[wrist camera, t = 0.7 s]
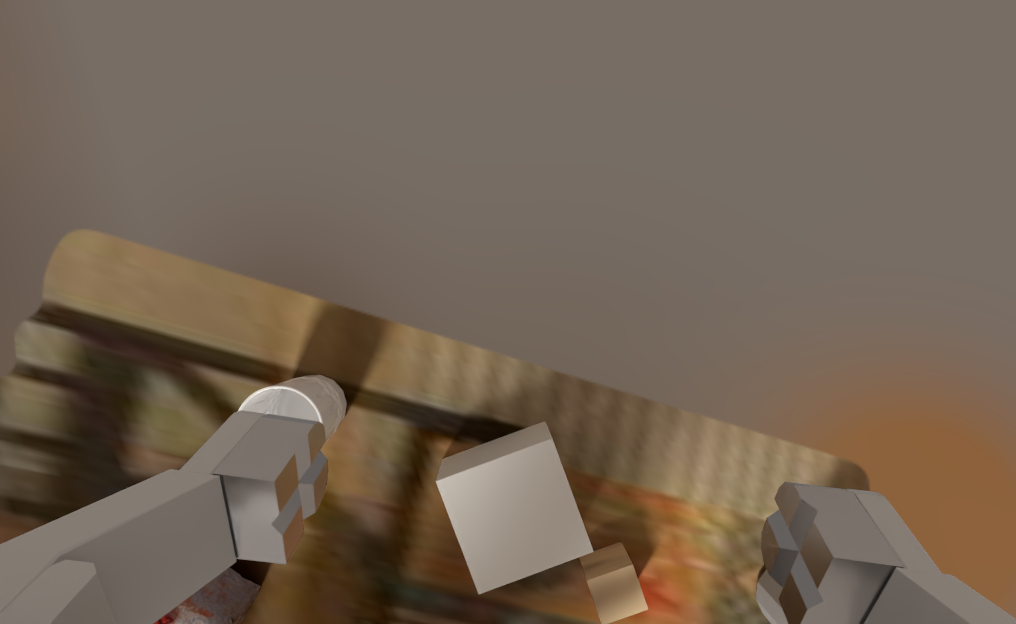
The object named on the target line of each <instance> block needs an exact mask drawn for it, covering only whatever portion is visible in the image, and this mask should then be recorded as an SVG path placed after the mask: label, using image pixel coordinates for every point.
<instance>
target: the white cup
mask: <svg viewBox="0 0 1016 624" xmlns="http://www.w3.org/2000/svg"><path fill="white" fill-rule="evenodd" d="M346 406H347V402H346V399H345V396H344V392H343V390H342V389H341V388H340V387H339V386H338V384H337V383H336V382H335V381H334V380H332V379H330V378H327V377H325V376H322V375H306V376H303V377H298V378H294V379H291V380H287V381H283V382H280V383H277V384H274V385H271V386H268V387H265V388H262V389H260V390H258V391H256V392H254V393H253V394H251V395H250V396H249V397H248V398H247V399H246V400H245V401H244V402H243V403H242V405H241V406H240V408H239V410H238V411H241V410H243V411H250V412H257V413H263V414H273V415H279V416H286V417H292V418H299V419H306V420H312V421H319V422H321V423H322V424H323V425H324V428H325V435H326V441H325V443H326V442H327V441H328V440H329V439H330V438H331V436H332V435H333V434H334V432H335V431H336V429H337V427H338V426H339V425H340V423H341V422H342V420H343V419H344V418H345V412H346ZM325 443H324V444H323V446H324V445H325ZM323 446H322V447H323Z"/></svg>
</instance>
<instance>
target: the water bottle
mask: <svg viewBox="0 0 1016 624" xmlns="http://www.w3.org/2000/svg"><path fill="white" fill-rule="evenodd" d="M782 589H783V587H781V586H780V585H779V584H778V583H777V582H776V581H775V580H774V579H773V578H772V577H771V576H770V575H769V574H768V571H767V569H766V570H765V572H764V573H763V575H762V576H761V577H760V579H759V580H758V584H757V592H756V600H757V602H758V604H759V606H760V609H761V611H762V613H763V614H764V615H765V617H766V618H767V619H768V620H769V621H770V623H771V624H788V622H787V619H786V617H785V614H784V612H783V609H782V607H781V604H780V602H779V599H778V598H779V596H780V594H781V591H782Z"/></svg>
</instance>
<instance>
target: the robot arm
mask: <svg viewBox="0 0 1016 624" xmlns="http://www.w3.org/2000/svg"><path fill="white" fill-rule="evenodd" d="M325 441H326V435H325V428H324V425H323V424H322V423H321V422H319V421H312V420H306V419H299V418H292V417H286V416H279V415H273V414H263V413H257V412H250V411H243V410H241V411H238V412H235V413H233V414H232V415H231V416H230V417H229V418H228V419H227V420H226V421H225V423H224V424H223V425H222V426H221V427H220V428H219V429H218V430H217V431H216V432H215V433H214V434H213V435H212V436H211V437H210V438H209V439H208V440H207V441H206V442H205V444H204V445H203V446H202V447H201V448H200V449H199V450H198V451H197V452H196V453H195V454H194V455H193V456H192V457H191V458H190V459H189V460H188V461H187V462H186V464H185V465H184V466H183V467H182V468H181V469H180V470H173V469H170V470H167V471H165V472H163V473H161V474H158V475H156V476H154V477H152V478H149V479H147V480H145V481H143V482H140V483H138V484H136V485H133V486H131V487H129V488H127V489H124V490H122V491H120V492H118V493H115V494H113V495H111V496H109V497H106V498H104V499H102V500H100V501H97V502H95V503H93V504H91V505H88V506H86V507H84V508H82V509H79V510H77V511H75V512H72V513H70V514H68V515H66V516H63V517H61V518H59V519H57V520H54V521H52V522H50V523H48V524H45V525H43V526H41V527H39V528H36V529H34V530H32V531H30V532H27V533H25V534H23V535H21V536H18V537H16V538H14V539H11V540H9V541H7V542H5V543H2V544H0V624H154V623H155V622H156V621H158V620H159V619H160V618H162V617H163V616H164V615H166V614H167V613H168V612H170V611H171V610H172V609H174V608H175V607H177V606H178V605H179V604H181V603H182V602H183V601H185V600H186V599H187V598H189V597H190V596H191V595H193V594H194V593H195V592H197V591H198V590H199V589H201V588H202V587H203V586H205V585H206V584H207V583H209V582H210V581H211V580H213V579H214V578H215V577H217V576H218V575H219V574H221V573H222V572H223V571H225V570H226V569H227V568H229V567H230V566H231V565H233V564H234V563H235V562H236V561H237V560H236V559H244V560H252V561H261V562H270V563H279V564H287V563H288V561H289V559H290V557H291V555H292V554H293V552H294V550H295V548H296V546H297V545H298V543H299V541H300V539H301V538H302V536H303V534H304V523H303V520H304V519H305V518H307V517H308V516H310V515H312V514H313V513H315V512H316V510H317V509H318V507H319V505H320V503H321V501H322V499H323V496H324V492H325V489H326V486H327V481H328V471H329V470H328V459H327V458H326V457H325V456H324V455H323V453H322V452H321V451H320V449H321V448H322V446H323V444H324V443H325ZM775 501H776V503H777V505H778V507H779V509H780V510H778V511H776V512H775V513H773V514H772V515H770V516H769V517H767V519H766V522H765V525H764V527H763V530H762V542H761V550H762V555H763V560H764V563H765V566H766V569H767V571H768V574H769V575H770V576H771V577H772V578H773V579H774V580H775V581H776V582H777V583H778V584H779V585H780V586H781V587H783V589H782V591H781V594H780V596H779V598H778V599H779V602H780V604H781V607H782V609H783V612H784V614H785V617H786V619H787V622H788V624H1016V619H1015V618H1014V617H1012V616H1011V615H1009V614H1008V613H1006V612H1005V611H1004V610H1002V609H1001V608H999V607H998V606H996V605H995V604H993V603H992V602H991V601H989V600H988V599H986V598H985V597H983V596H982V595H980V594H979V593H977V592H976V591H975V590H973V589H972V588H970V587H969V586H967V585H966V584H964V583H963V582H962V581H960V580H959V579H957V578H956V577H954V576H953V575H947V574H942V573H941V572H940V570H939V569H938V567H937V566H936V565H935V564H934V562H933V561H932V559H931V558H930V557H929V555H928V554H927V553H926V551H925V550H924V549H923V547H922V546H921V544H920V543H919V542H918V540H917V539H916V538H915V536H914V535H913V534H912V532H911V531H910V530H909V528H908V527H907V526H906V524H905V523H904V522H903V520H902V519H901V518H900V516H899V515H898V514H897V512H896V511H895V509H894V508H893V507H892V506H891V504H890V503H889V501H888V500H887V499H886V498H885V497H884V496H883V495H881V494H880V493H878V492H873V491H864V490H855V489H840V488H832V487H824V486H816V485H807V484H799V483H791V482H784V483H783V484H782V485H781V486H780V487H779V489H778V492H777V494H776V496H775Z"/></svg>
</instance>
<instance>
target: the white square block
mask: <svg viewBox="0 0 1016 624" xmlns="http://www.w3.org/2000/svg"><path fill="white" fill-rule="evenodd" d="M436 484H437V486H438V489H439V491H440V494H441V497H442V499H443V502H444V505H445V507H446V510H447V513H448V515H449V518H450V520H451V523H452V526H453V528H454V531H455V534H456V536H457V539H458V542H459V544H460V547H461V549H462V552H463V555H464V557H465V560H466V563H467V565H468V568H469V571H470V573H471V576H472V579H473V581H474V584H475V586H476V589H477V592H478V594H482V593H484V592H487V591H490V590H492V589H495V588H498V587H501V586H503V585H506V584H509V583H511V582H514V581H517V580H519V579H522V578H525V577H527V576H530V575H533V574H535V573H538V572H541V571H544V570H546V569H549V568H552V567H554V566H557V565H560V564H562V563H565V562H568V561H570V560H573V559H576V558H578V557H581V556H584V555H586V554H589V553H592V552H594V551H593V548H592V546H591V543H590V540H589V537H588V535H587V532H586V529H585V526H584V524H583V521H582V518H581V516H580V513H579V510H578V507H577V505H576V502H575V499H574V496H573V494H572V491H571V488H570V485H569V483H568V480H567V477H566V474H565V472H564V469H563V466H562V464H561V461H560V458H559V455H558V453H557V450H556V447H555V444H554V442H553V439H552V436H551V434H550V431H549V429H548V426H547V424H546V421H544V422H541V423H538V424H536V425H533V426H530V427H528V428H525V429H522V430H519V431H517V432H514V433H511V434H509V435H506V436H503V437H500V438H498V439H495V440H492V441H490V442H487V443H484V444H481V445H479V446H476V447H473V448H471V449H468V450H465V451H462V452H460V453H457V454H454V455H452V456H449V457H446V458H443V459H442V462H441V465H440V469H439V472H438V475H437V479H436Z"/></svg>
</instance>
